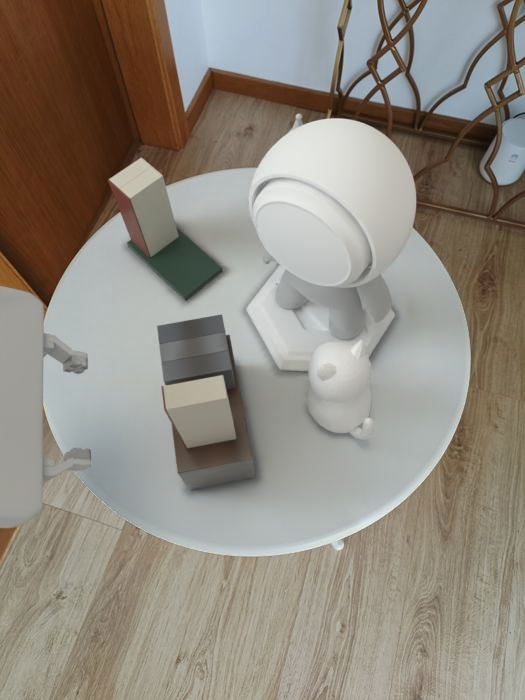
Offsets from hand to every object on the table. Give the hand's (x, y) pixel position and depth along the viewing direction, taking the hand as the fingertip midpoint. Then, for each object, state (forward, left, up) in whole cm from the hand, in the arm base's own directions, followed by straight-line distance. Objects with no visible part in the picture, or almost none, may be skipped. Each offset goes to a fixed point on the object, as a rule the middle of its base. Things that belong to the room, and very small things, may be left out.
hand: (86, 410), depth 49 cm
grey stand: (+10, +5, -26) cm, 29 cm away
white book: (+10, +1, -16) cm, 19 cm away
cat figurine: (+28, +4, -26) cm, 39 cm away
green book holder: (+8, +35, -26) cm, 44 cm away
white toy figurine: (+29, +20, -26) cm, 44 cm away
